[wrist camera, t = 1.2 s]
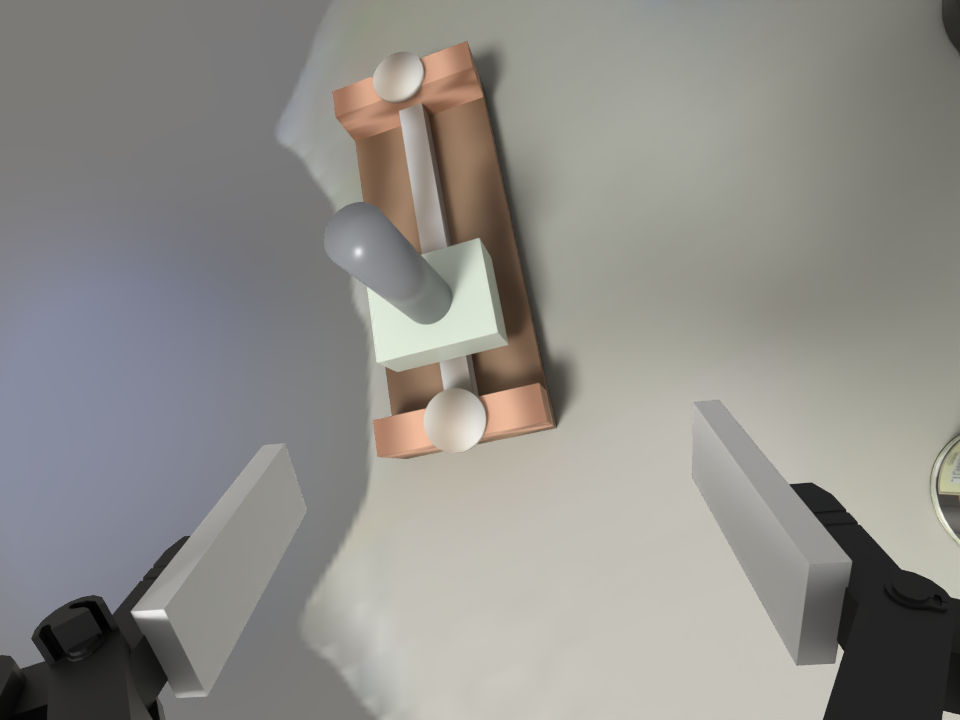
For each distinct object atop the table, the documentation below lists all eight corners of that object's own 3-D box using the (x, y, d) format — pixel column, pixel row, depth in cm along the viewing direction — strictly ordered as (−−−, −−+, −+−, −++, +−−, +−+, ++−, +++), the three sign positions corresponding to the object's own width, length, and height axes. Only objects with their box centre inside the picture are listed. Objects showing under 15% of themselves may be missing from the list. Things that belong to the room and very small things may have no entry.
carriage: (491, 257, 45) (425, 148, 30) (508, 344, 43) (447, 274, 28) (385, 287, 47) (274, 199, 32) (397, 372, 45) (284, 320, 30)
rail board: (481, 78, 54) (463, 27, 48) (559, 439, 45) (548, 433, 38) (360, 122, 57) (328, 79, 51) (407, 469, 47) (375, 469, 41)
